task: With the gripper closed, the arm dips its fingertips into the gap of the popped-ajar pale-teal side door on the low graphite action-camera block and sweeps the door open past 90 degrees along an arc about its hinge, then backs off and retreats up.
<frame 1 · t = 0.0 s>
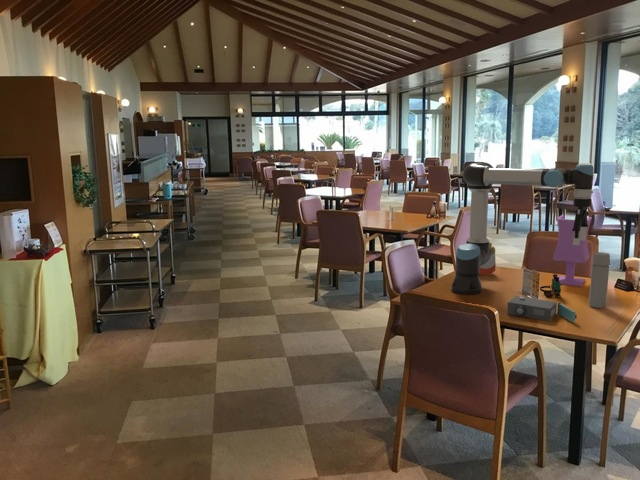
hand: (579, 242, 267), 28 cm above the table, fingers open, 13 cm apart
binoculars: (550, 296, 279), on the table
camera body: (531, 314, 251), on the table
side door: (566, 312, 244), point 3 cm above the table, hinge at 40.0°
water bottle: (597, 306, 262), on the table
french fries container: (484, 274, 323), on the table
purple table lamp: (569, 282, 304), on the table
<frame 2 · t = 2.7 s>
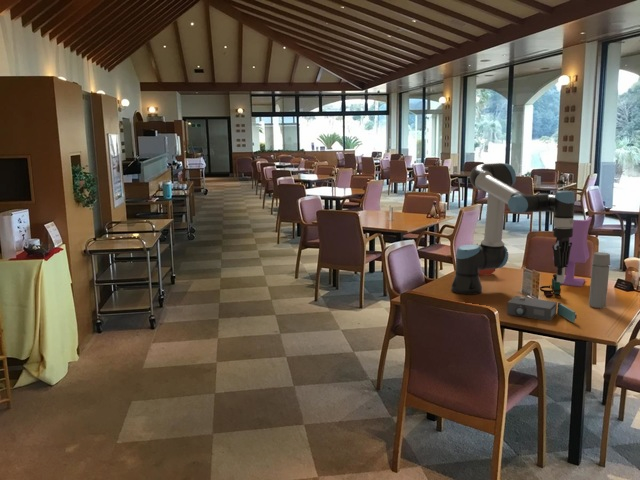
hand: (560, 282, 242), 16 cm above the table, fingers closed
nothing on the table moved.
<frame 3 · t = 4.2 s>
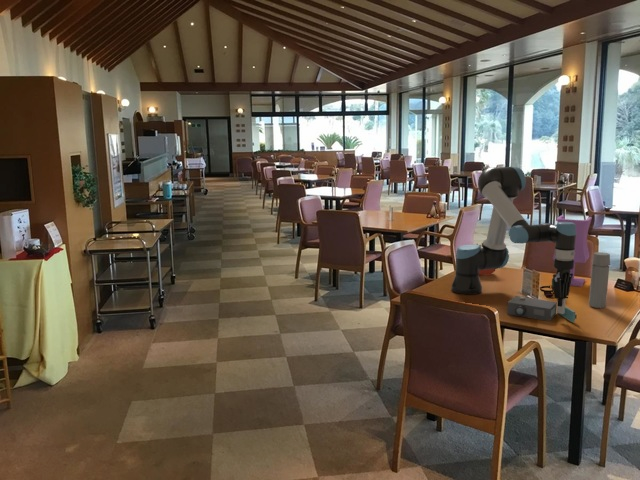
hand: (560, 313, 241), 4 cm above the table, fingers closed
nothing on the table moved.
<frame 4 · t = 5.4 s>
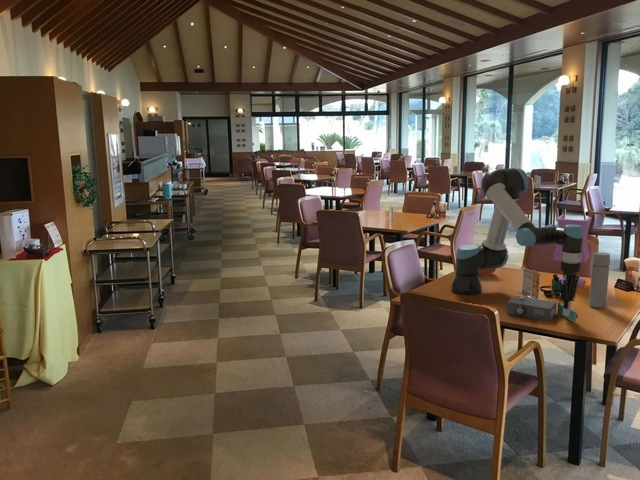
hand: (566, 315, 241), 2 cm above the table, fingers closed
side door: (567, 312, 244), point 3 cm above the table, hinge at 42.7°, touching gripper
everything else where it was.
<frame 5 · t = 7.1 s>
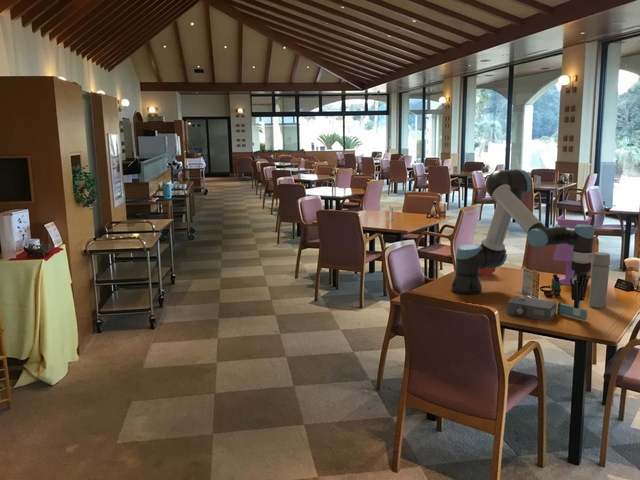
hand: (576, 314, 242), 2 cm above the table, fingers closed
side door: (572, 311, 246), point 3 cm above the table, hinge at 70.5°, touching gripper
everything else where it was.
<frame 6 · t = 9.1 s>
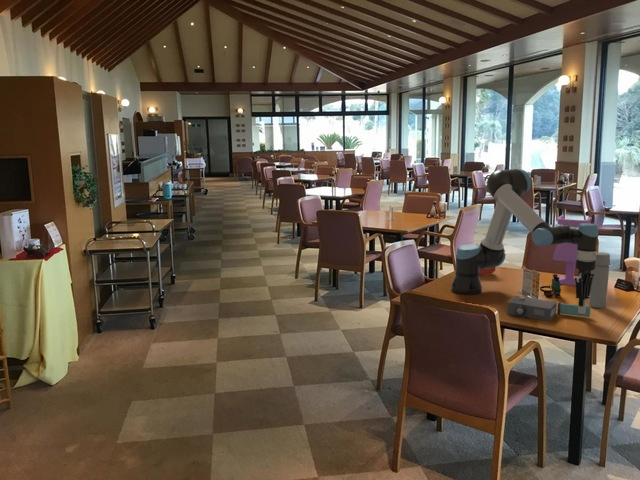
hand: (581, 312, 245), 2 cm above the table, fingers closed
side door: (573, 309, 248), point 3 cm above the table, hinge at 98.6°
everything else where it was.
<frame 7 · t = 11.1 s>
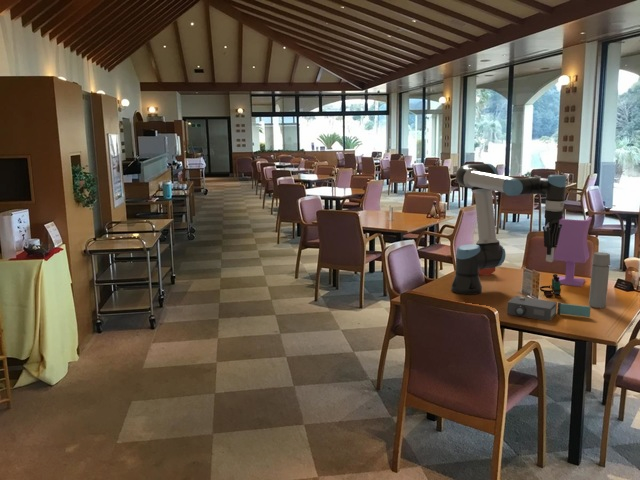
hand: (549, 261, 256), 22 cm above the table, fingers closed
nothing on the table moved.
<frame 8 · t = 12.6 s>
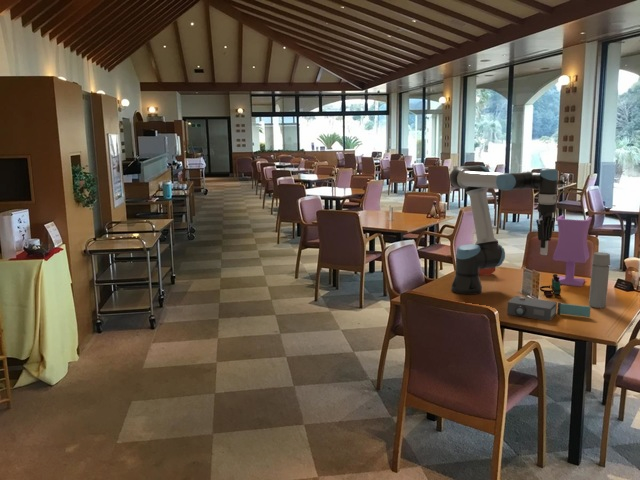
hand: (543, 254, 259), 24 cm above the table, fingers closed
nothing on the table moved.
at the end: side door at +99° (first picture: +40°); water bottle moved 0.2 cm from its start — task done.
